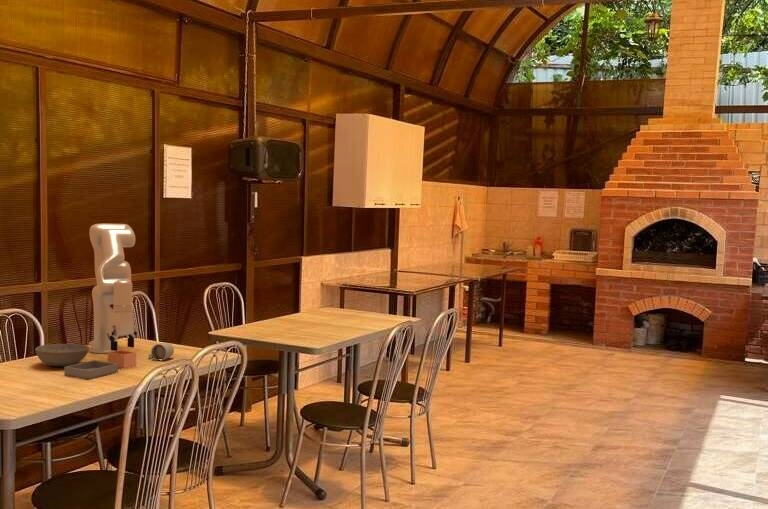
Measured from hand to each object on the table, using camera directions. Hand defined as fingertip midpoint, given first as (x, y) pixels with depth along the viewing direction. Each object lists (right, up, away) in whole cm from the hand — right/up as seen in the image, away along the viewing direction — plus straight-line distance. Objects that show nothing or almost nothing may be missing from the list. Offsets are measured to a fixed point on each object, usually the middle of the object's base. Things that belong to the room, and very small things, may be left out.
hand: (122, 348), depth 320 cm
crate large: (-8, -8, -14) cm, 18 cm away
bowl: (-26, -7, -1) cm, 27 cm away
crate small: (-1, -8, +1) cm, 8 cm away
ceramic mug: (+11, -7, +18) cm, 22 cm away
